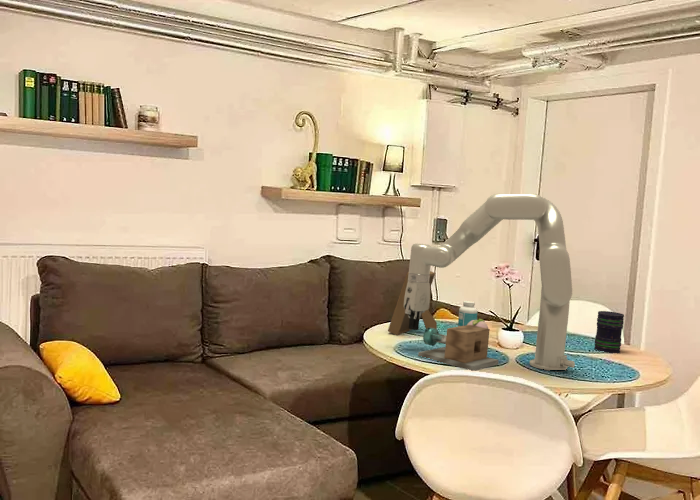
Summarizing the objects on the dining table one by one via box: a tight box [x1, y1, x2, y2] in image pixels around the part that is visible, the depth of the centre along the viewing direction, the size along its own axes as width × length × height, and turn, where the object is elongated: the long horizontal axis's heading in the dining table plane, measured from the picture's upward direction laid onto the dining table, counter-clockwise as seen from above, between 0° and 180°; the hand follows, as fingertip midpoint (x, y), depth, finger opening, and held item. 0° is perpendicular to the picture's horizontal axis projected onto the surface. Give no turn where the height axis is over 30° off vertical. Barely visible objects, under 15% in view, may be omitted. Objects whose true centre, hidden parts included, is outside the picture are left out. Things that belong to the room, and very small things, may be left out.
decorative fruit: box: [467, 316, 489, 329], centre depth 273 cm, size 9×8×10 cm
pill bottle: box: [457, 300, 478, 327], centre depth 288 cm, size 8×7×14 cm
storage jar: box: [594, 310, 625, 354], centre depth 277 cm, size 10×10×15 cm
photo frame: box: [387, 270, 438, 336], centre depth 282 cm, size 15×22×25 cm
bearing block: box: [417, 325, 499, 371], centre depth 239 cm, size 22×16×12 cm
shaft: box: [422, 327, 447, 347], centre depth 242 cm, size 16×6×6 cm, turn 49°
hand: (413, 329), depth 252 cm, fingers closed
